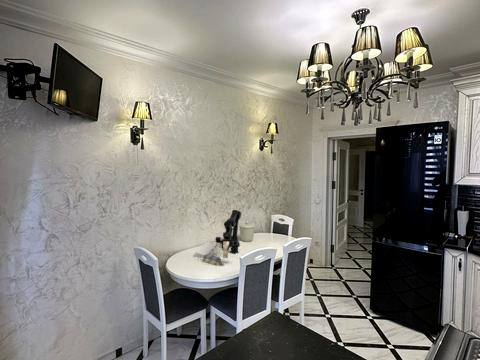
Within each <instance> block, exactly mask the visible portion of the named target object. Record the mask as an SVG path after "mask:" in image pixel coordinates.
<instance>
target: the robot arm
mask: <svg viewBox="0 0 480 360" xmlns="http://www.w3.org/2000/svg"><path fill="white" fill-rule="evenodd" d="M241 217H242V212H241V211H239V210H237V209H233V210H232V211H231V214H230V218H227V220H226V221H224V222H223V226H224V229H225V231H224V232H223V233H222V237H221V236H217V237H215V242H216V243H217V244H221V250H222V251H223V241H228V249H227V250H228V251H229V250H230V251H229V253H232V254H234V255H236V254H238V253H240V251H239V247H240V246H241V244H240V241H239V237H238V231H239V230H238V229H239V223H240V222H239V221H240V219H241Z"/></svg>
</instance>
